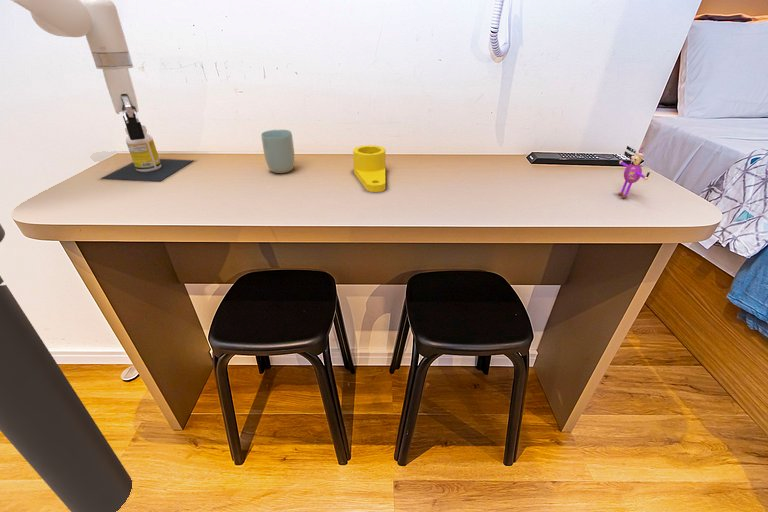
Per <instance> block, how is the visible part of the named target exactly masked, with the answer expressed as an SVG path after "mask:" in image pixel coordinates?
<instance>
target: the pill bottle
mask: <svg viewBox="0 0 768 512" xmlns="http://www.w3.org/2000/svg"><path fill="white" fill-rule="evenodd" d="M141 126H142V129H143V133H144V136H145V138H144V139H138V140H131V139H130V137H129V134H128V131H127V127H125V128H124V131H125V134H126V135H127V137H126V138H125V144H126V146H127V148H128V151H129V154H130V157H131V159H132V163H133V162H134V165H135V168H136V170H137V171H139V172H151V171H155V170H158V169H160V168H161V162H160V159H161V158H160V156H159V153H158V151H157V147H156V145H155V144H156V143H155V141H154V138H153V136H152V135H151V134H149V133H148V129H147V126H146V125H142V124H141Z"/></svg>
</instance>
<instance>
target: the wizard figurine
mask: <svg viewBox="0 0 768 512" xmlns="http://www.w3.org/2000/svg"><path fill="white" fill-rule="evenodd" d="M643 149H644V146H643V145H642V146H641V148H640V149H639V150H638V151H637V150H635V149H634V148H633V147H630V146H628V145H626V150H627V151H626V150H625V151H624V153H623V154H624V155H625V156H626V157H628V158H629V159H630V161H631V162H630V163H629V164H628V163H626V162H624V161H623V160H620V161H619V165H622V166H624V167H625V169H624V171H623V179H624V180H625V181H624V183H623V185H622V188H621V191H620V192H618V193H617V196H621V198H622V199H627V197H628V195H629V192H630V189H631V187H632V185H633V184H634V183H637V182H638V181H639V180H640V178H641V179H643V180H644V181H648V180H649V176H650V174H651V170H648V171H647V173H646V175H645V174H643V170H642V167H641V165H640V163H641V162H642V159H643V158H644V153H643ZM628 151H629V152H628ZM631 153H633V154H634V155H633V154H631ZM627 184H628V185H627ZM624 192H625V193H624Z"/></svg>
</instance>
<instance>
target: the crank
mask: <svg viewBox="0 0 768 512" xmlns="http://www.w3.org/2000/svg"><path fill="white" fill-rule="evenodd" d="M352 158H353V174H354V175H355V177H357V179H358V181H359V182H360V183H361V185H362V186H363V188H364V189H365V190H366V191H367V192H370V193H380V192H383V191H385V190H386V148H385V147H383V146H379V145H371V144H370V145H368V144H367V145H360V146H355V147H354V148H353V149H352Z"/></svg>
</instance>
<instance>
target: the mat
mask: <svg viewBox="0 0 768 512" xmlns="http://www.w3.org/2000/svg"><path fill="white" fill-rule="evenodd" d="M159 159H160V162H161V168H160V169H158V170H155V171H151V172H139V171H137V170H136V168H135V165H134V162H133V161H132V162H131V163H128V164H127V165H125V166H123V167H121V168H119V169H117V170H115V171H113V172H111V173H109V174H107V175H105V176H102V177H101V178H100V179H101V180H117V181H118V180H119V181H140V182H142V181H143V182H162V181H163V180H165V179H167V178H168V177H170V176H172V175H173V174H175V173H176V172H178V171H180V170H182V169H183V168H185V167H186V166H188V165H189V164H192V163H193V162H194V160H190V159H163V158H159Z"/></svg>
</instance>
